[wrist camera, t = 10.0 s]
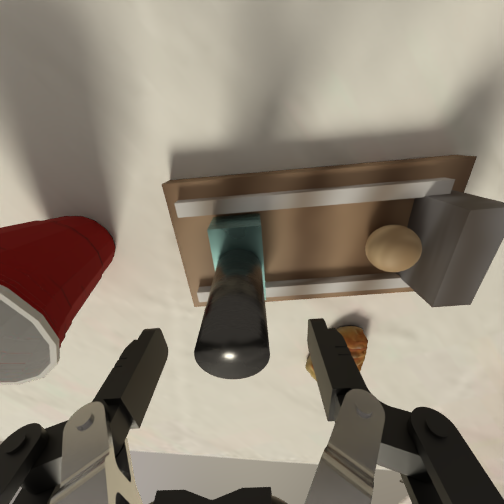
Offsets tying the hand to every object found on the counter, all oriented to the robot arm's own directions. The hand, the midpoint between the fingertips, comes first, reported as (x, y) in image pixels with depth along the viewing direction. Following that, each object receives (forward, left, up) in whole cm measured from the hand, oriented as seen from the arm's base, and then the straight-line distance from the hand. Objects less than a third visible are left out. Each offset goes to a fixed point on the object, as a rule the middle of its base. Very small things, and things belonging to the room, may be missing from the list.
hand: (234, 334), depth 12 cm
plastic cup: (+16, -1, -12) cm, 20 cm away
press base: (-7, 0, -12) cm, 14 cm away
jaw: (0, 0, -9) cm, 10 cm away
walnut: (-13, 0, -8) cm, 15 cm away
